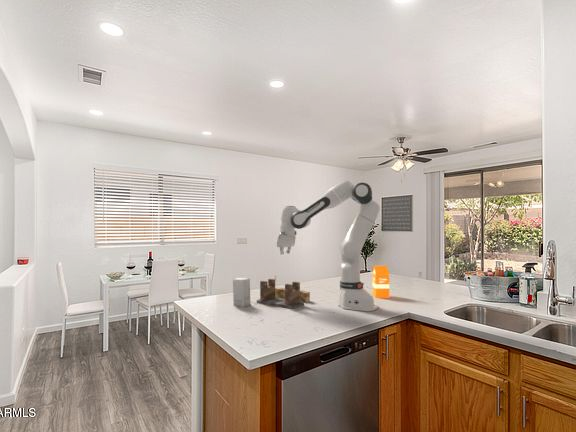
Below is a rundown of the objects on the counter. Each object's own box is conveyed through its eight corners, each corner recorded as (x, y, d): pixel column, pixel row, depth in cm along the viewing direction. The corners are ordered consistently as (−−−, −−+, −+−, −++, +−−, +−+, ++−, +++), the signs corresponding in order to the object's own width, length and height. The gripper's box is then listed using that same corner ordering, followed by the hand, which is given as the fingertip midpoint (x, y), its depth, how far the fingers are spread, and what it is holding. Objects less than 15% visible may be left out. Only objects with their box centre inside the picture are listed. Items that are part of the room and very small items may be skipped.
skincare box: (250, 304, 187) (250, 278, 187) (243, 307, 181) (243, 280, 181) (239, 302, 191) (239, 277, 192) (232, 305, 186) (232, 278, 186)
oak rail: (309, 301, 195) (309, 291, 195) (306, 302, 192) (306, 292, 192) (278, 296, 208) (278, 287, 209) (274, 297, 205) (274, 288, 205)
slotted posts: (303, 304, 187) (303, 282, 187) (292, 309, 177) (292, 285, 177) (268, 298, 202) (268, 278, 202) (256, 302, 192) (256, 281, 192)
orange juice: (389, 297, 203) (389, 266, 203) (375, 297, 203) (375, 266, 204) (385, 295, 211) (385, 264, 211) (372, 295, 211) (372, 264, 211)
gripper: (284, 232, 186) (282, 255, 186) (297, 232, 205) (295, 253, 204) (275, 231, 188) (273, 254, 188) (288, 231, 207) (286, 252, 207)
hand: (285, 253), depth 197 cm, fingers open, 8 cm apart
